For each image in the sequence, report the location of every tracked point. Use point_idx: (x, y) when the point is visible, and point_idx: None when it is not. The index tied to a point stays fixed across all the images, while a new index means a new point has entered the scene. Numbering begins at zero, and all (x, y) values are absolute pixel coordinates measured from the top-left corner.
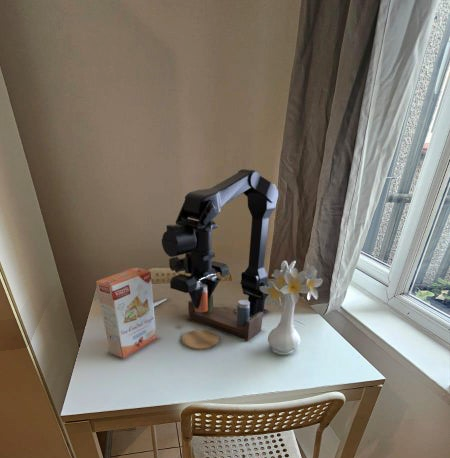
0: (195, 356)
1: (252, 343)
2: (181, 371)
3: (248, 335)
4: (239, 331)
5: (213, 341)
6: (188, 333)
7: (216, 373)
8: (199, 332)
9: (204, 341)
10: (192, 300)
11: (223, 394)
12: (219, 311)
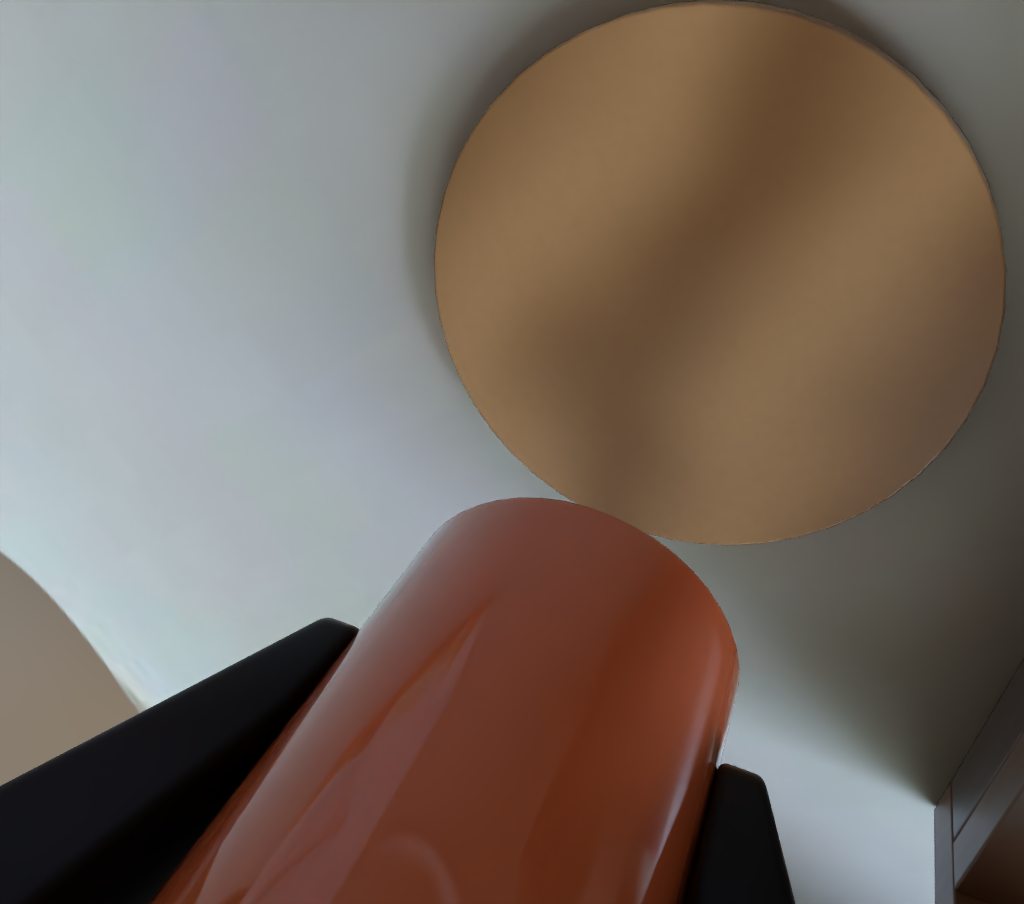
0: (354, 398)
1: (900, 844)
2: (116, 380)
3: (939, 878)
4: (985, 807)
5: (694, 501)
6: (753, 49)
7: (279, 626)
8: (880, 213)
9: (639, 398)
10: (106, 751)
11: (158, 696)
12: None
